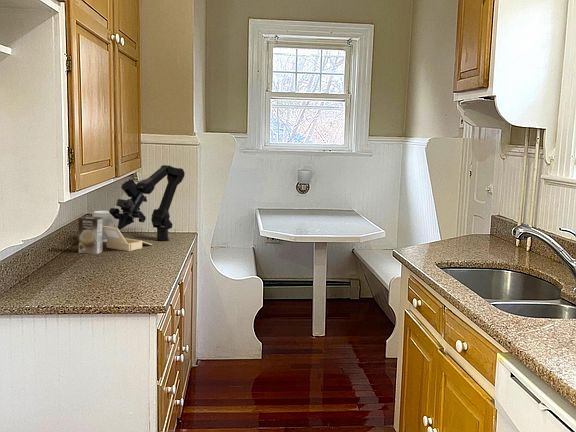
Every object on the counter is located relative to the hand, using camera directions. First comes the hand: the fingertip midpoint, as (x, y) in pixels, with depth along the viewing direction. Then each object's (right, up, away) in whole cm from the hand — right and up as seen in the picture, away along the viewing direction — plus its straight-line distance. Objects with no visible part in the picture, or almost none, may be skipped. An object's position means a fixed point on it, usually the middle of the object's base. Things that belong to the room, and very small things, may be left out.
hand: (118, 229), depth 280 cm
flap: (-2, -2, -3) cm, 4 cm away
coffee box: (-11, -11, -7) cm, 17 cm away
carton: (+4, -9, +8) cm, 13 cm away
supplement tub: (-13, -7, +21) cm, 26 cm away
